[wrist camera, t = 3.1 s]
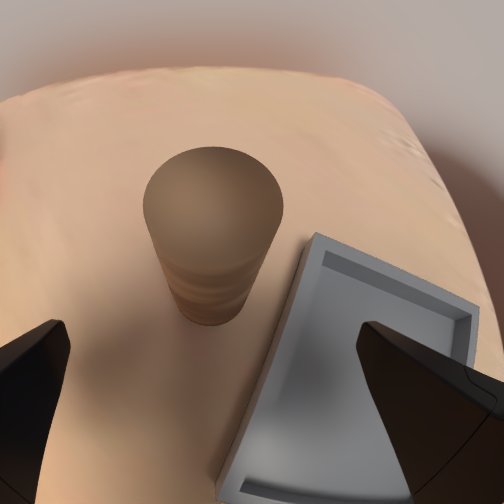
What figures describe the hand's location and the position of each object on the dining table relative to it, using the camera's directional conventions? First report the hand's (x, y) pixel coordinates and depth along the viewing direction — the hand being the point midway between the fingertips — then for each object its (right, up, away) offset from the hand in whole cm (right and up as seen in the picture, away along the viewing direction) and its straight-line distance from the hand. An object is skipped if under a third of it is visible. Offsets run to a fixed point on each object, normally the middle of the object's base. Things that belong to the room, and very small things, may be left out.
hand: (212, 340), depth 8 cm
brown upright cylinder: (-2, 0, +12) cm, 12 cm away
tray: (+9, -8, +10) cm, 16 cm away
